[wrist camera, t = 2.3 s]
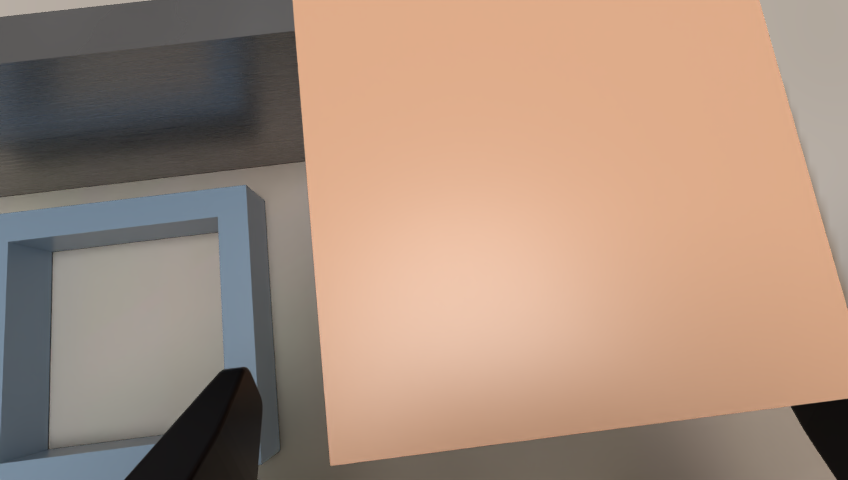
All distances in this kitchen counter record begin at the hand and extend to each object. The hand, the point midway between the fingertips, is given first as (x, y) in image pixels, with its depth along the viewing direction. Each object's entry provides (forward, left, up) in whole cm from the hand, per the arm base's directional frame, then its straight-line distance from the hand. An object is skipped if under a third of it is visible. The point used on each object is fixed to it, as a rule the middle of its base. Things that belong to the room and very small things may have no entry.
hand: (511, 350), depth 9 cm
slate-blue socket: (-7, +9, -9) cm, 15 cm away
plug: (+1, +1, -9) cm, 10 cm away
